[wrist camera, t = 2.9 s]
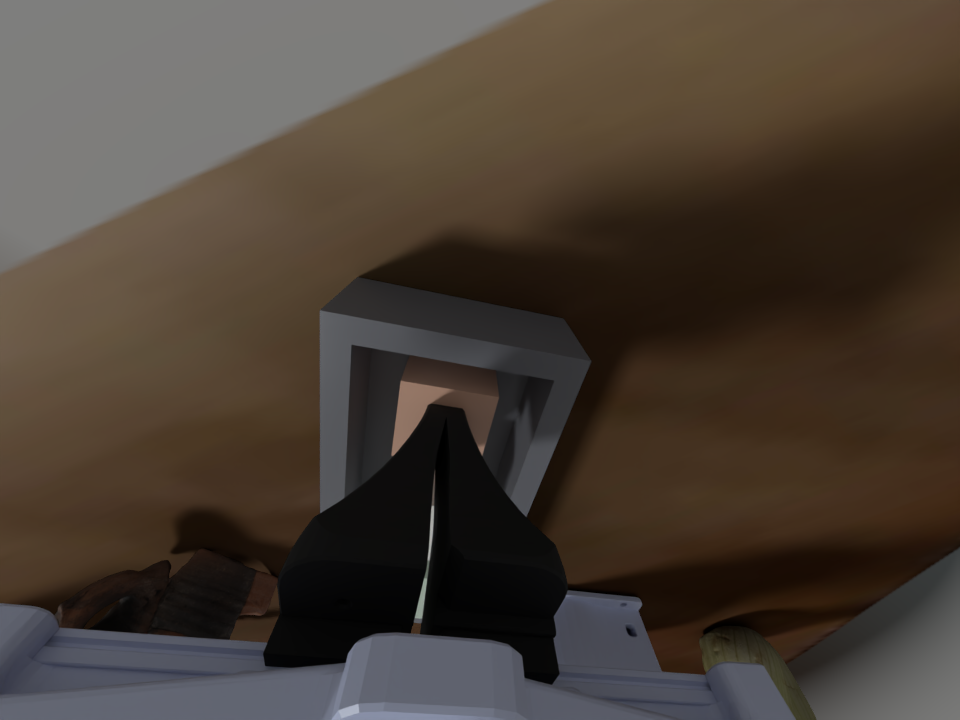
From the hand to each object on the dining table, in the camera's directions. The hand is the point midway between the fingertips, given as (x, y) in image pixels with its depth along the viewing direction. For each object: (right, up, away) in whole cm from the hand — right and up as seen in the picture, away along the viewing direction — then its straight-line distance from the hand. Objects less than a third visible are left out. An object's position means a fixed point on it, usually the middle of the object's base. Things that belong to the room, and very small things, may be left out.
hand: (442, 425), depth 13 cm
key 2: (0, +1, +2) cm, 2 cm away
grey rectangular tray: (-1, -3, +6) cm, 6 cm away
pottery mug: (-18, -13, +11) cm, 24 cm away
